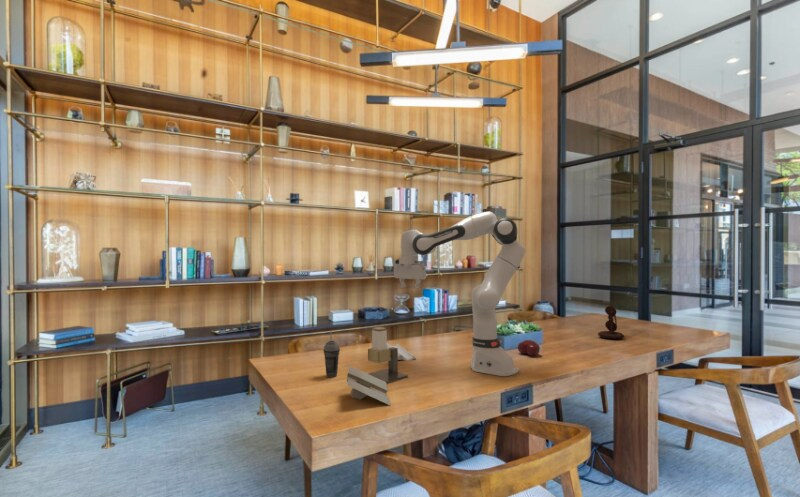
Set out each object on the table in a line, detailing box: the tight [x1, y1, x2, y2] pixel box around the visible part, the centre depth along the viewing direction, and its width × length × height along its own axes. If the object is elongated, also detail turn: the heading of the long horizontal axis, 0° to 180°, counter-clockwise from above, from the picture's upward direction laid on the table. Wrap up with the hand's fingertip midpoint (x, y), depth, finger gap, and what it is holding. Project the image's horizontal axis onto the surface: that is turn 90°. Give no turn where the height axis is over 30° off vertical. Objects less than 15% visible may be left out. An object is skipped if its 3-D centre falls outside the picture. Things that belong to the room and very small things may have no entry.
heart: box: [517, 339, 541, 357], centre depth 213 cm, size 12×8×10 cm
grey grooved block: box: [346, 365, 392, 406], centre depth 150 cm, size 19×10×17 cm
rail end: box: [371, 326, 388, 351], centre depth 173 cm, size 5×5×13 cm
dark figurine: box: [597, 305, 625, 341], centre depth 254 cm, size 15×15×20 cm
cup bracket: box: [367, 347, 409, 385], centre depth 175 cm, size 14×16×13 cm
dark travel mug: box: [322, 330, 340, 379], centre depth 177 cm, size 7×7×20 cm
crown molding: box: [387, 342, 417, 361], centre depth 218 cm, size 31×12×4 cm, turn 16°
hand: (409, 287), depth 204 cm, fingers open, 8 cm apart
